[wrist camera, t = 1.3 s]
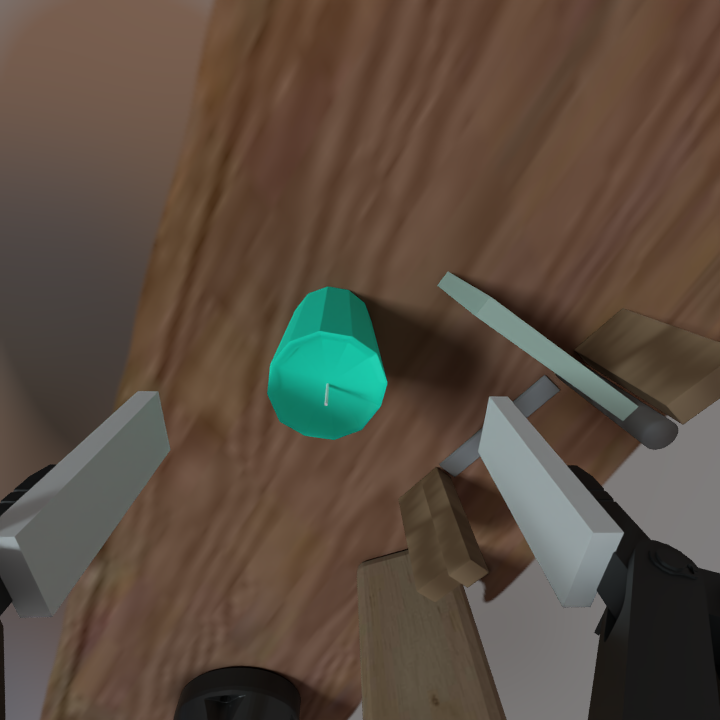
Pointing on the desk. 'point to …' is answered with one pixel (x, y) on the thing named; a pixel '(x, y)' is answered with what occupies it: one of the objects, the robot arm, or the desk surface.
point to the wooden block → (419, 650)
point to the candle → (327, 367)
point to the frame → (600, 351)
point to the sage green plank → (537, 345)
